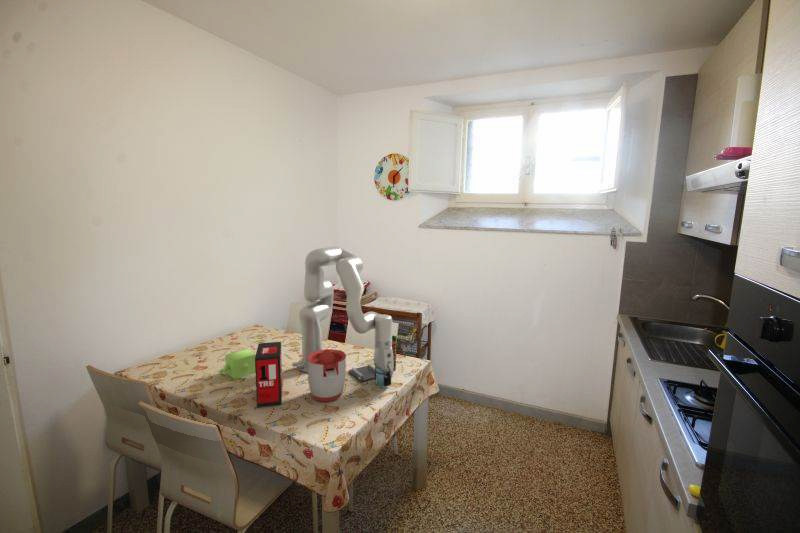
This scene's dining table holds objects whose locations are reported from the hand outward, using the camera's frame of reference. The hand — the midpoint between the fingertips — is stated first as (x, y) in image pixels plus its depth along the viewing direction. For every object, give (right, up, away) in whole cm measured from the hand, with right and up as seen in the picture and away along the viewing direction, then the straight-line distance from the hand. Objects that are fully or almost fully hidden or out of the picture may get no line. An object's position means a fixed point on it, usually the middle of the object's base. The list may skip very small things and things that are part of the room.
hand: (382, 381), depth 160 cm
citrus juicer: (-22, -3, -12) cm, 25 cm away
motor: (+1, +1, +15) cm, 15 cm away
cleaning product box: (-45, -2, -12) cm, 47 cm away
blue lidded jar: (0, -1, 0) cm, 1 cm away
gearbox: (-66, +1, +7) cm, 67 cm away
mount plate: (-9, 0, +9) cm, 12 cm away
